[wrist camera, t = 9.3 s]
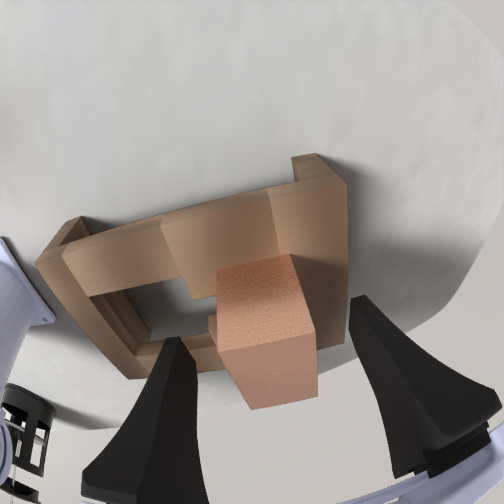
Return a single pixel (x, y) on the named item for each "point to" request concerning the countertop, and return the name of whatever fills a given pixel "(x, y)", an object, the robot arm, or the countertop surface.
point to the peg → (266, 332)
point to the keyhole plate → (205, 262)
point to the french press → (25, 436)
